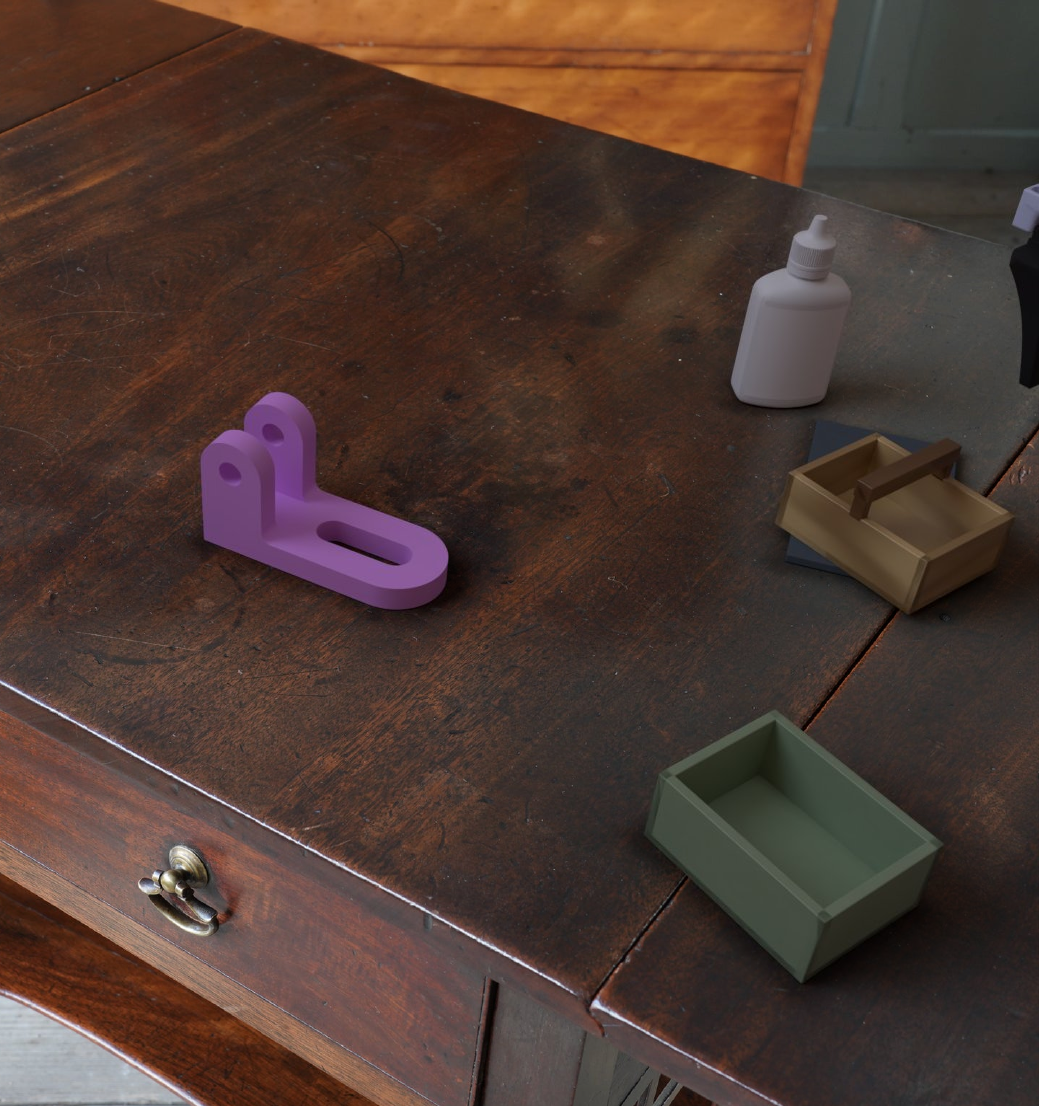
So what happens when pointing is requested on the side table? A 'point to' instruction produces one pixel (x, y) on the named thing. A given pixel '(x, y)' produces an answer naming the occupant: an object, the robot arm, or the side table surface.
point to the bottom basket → (790, 843)
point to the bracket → (309, 514)
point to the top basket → (895, 519)
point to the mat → (824, 443)
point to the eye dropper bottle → (793, 326)
